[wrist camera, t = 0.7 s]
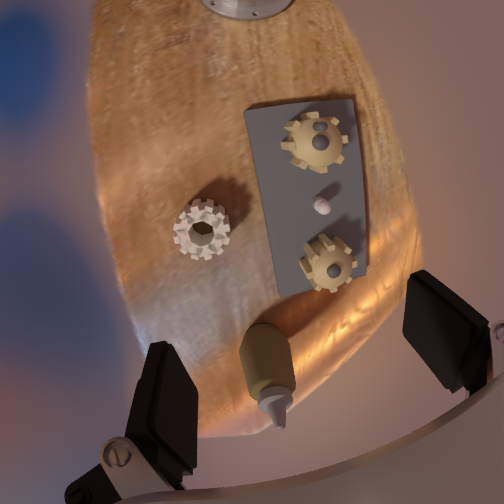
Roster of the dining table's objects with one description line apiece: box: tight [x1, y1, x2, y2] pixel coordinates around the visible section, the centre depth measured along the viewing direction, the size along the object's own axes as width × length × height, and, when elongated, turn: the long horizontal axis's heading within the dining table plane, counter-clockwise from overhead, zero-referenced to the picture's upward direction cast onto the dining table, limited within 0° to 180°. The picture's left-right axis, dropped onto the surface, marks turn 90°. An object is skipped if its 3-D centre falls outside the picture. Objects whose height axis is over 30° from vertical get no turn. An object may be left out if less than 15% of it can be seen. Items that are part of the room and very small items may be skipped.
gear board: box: [243, 99, 366, 297], centre depth 32 cm, size 26×14×8 cm, turn 11°
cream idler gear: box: [173, 198, 230, 260], centre depth 34 cm, size 7×7×4 cm
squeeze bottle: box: [239, 323, 296, 429], centre depth 36 cm, size 8×8×18 cm
